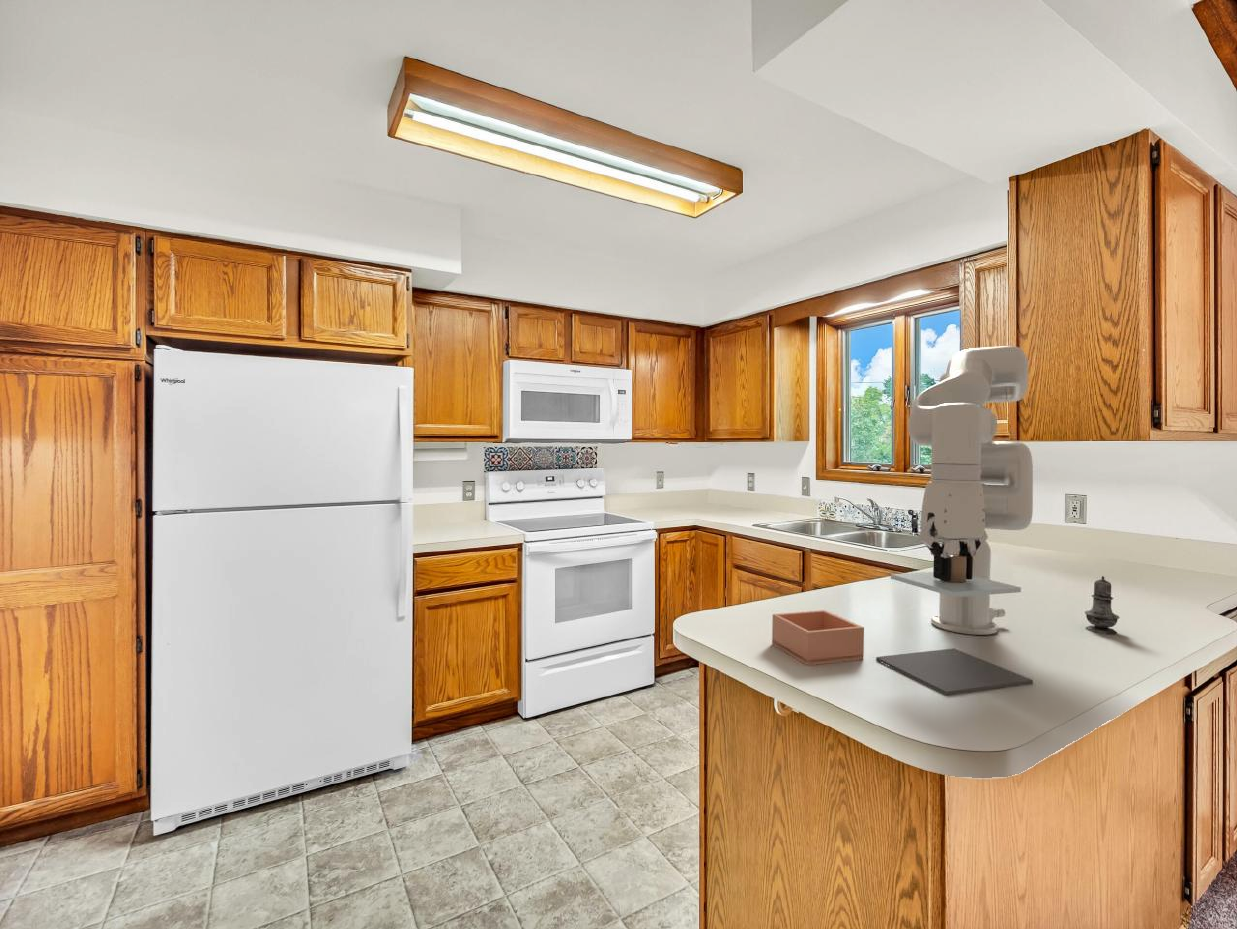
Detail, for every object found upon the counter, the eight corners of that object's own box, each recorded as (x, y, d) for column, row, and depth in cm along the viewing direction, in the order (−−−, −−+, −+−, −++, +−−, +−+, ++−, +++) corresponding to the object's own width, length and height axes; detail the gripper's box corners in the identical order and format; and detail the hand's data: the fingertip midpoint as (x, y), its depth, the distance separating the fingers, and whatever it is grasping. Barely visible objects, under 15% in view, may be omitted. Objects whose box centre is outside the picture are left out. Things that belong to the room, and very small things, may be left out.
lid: (951, 578, 112) (952, 547, 111) (1020, 595, 98) (1021, 561, 98) (890, 581, 108) (891, 550, 108) (953, 600, 94) (954, 565, 94)
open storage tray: (823, 638, 121) (824, 610, 121) (863, 659, 109) (864, 627, 109) (772, 644, 117) (772, 614, 117) (807, 665, 106) (807, 632, 106)
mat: (953, 651, 114) (954, 648, 114) (1032, 683, 98) (1032, 680, 98) (876, 660, 109) (876, 657, 109) (946, 695, 93) (946, 691, 93)
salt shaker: (1115, 636, 123) (1117, 580, 123) (1080, 630, 128) (1082, 575, 127) (1121, 631, 127) (1123, 576, 127) (1087, 625, 131) (1089, 571, 131)
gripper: (974, 473, 108) (972, 572, 109) (899, 473, 104) (897, 576, 104) (1012, 475, 101) (1009, 580, 102) (933, 475, 97) (930, 586, 97)
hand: (952, 577), depth 103 cm, fingers closed on lid, 4 cm apart
